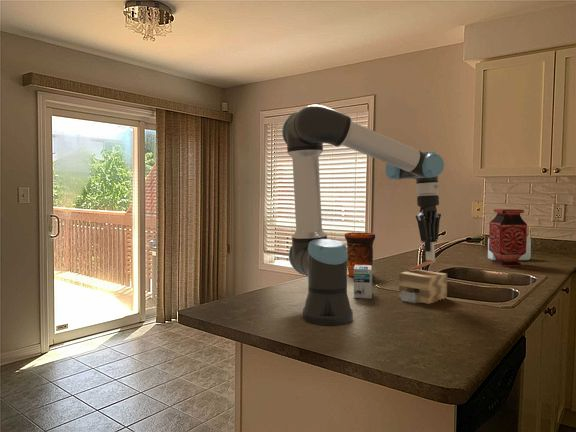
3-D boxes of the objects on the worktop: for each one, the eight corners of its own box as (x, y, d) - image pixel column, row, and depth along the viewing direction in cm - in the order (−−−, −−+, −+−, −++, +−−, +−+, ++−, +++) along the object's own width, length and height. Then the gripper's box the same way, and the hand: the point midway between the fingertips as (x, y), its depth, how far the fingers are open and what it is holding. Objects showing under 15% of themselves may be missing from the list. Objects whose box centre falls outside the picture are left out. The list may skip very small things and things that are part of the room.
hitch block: (428, 303, 147) (428, 277, 146) (399, 297, 156) (399, 273, 155) (446, 298, 154) (447, 273, 154) (417, 292, 164) (418, 269, 163)
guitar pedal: (523, 258, 255) (524, 236, 254) (530, 260, 249) (530, 237, 248) (486, 259, 252) (487, 236, 252) (492, 260, 247) (493, 237, 246)
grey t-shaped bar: (415, 303, 147) (415, 293, 147) (400, 300, 152) (401, 291, 151) (441, 296, 158) (441, 287, 158) (427, 293, 163) (427, 284, 162)
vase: (499, 267, 223) (500, 209, 222) (488, 263, 237) (489, 208, 236) (526, 267, 223) (527, 209, 222) (513, 263, 237) (514, 208, 235)
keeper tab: (407, 271, 158) (406, 269, 159) (417, 269, 162) (416, 267, 163) (426, 263, 152) (425, 261, 152) (436, 261, 156) (435, 259, 157)
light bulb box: (372, 299, 154) (372, 269, 153) (353, 298, 155) (353, 268, 155) (372, 292, 164) (372, 264, 164) (354, 291, 166) (354, 264, 165)
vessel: (337, 274, 201) (338, 232, 201) (356, 272, 211) (357, 231, 210) (361, 279, 191) (362, 234, 190) (380, 276, 200) (381, 233, 200)
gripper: (426, 194, 147) (429, 262, 148) (446, 194, 156) (449, 258, 156) (408, 195, 153) (410, 261, 154) (428, 195, 161) (431, 257, 162)
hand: (430, 260), depth 155 cm, fingers closed
